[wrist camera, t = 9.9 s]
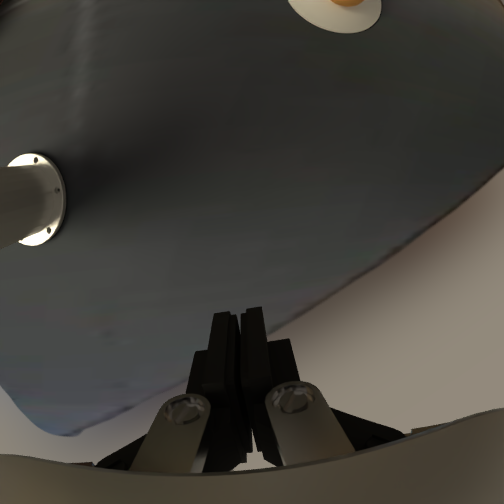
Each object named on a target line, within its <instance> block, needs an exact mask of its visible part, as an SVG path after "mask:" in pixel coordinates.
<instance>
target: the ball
mask: <svg viewBox="0 0 504 504" xmlns="http://www.w3.org/2000/svg"><path fill="white" fill-rule="evenodd" d="M331 1H332V2H334V3H335V4H338V5H341V6H345V7H351V6H356V5H358V4H360V3H362V2H363V1H364V0H331Z"/></svg>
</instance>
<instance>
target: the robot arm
mask: <svg viewBox="0 0 504 504" xmlns="http://www.w3.org/2000/svg"><path fill="white" fill-rule="evenodd" d="M59 189H60V190H59ZM65 210H66V190H65V184H64V181H63V178H62V175H61V173H60V171H59V169H58V168H57V167H56V165H55V164H54V163H53V162H52V161H51V160H50V159H49V158H47V157H46V156H44V155H42V154H38V153H27V154H23V155H20V156H18V157H17V158H15V159H14V160H13V161H12V162H11V163H10V164H9V165H8V166H7V167H0V249H2V248H4V247H7V246H9V245H11V244H13V243H16V242H20V243H22V244H25V245H29V246H35V245H40V244H42V243H44V242H46V241H48V240H50V239H51V238H52V237H53V236H54V235H55V234H56V233H57V231H58V230H59V228H60V226H61V224H62V222H63V219H64V215H65ZM252 431H253V435H254V439H255V443H256V447H257V451H258V452H259V451H260V452H261V451H262V453H263V457H264V460H266V461H268V462H270V463H272V464H273V465H275V466H277V467H271V468H263V469H253V470H243V471H234V470H233V468H234V467H236V466H237V465H238V464H240V463H246V462H247V453H252V452H253V446H252ZM0 504H504V408H499V409H492V410H489V411H485V412H480V413H476V414H473V415H470V416H467V417H463V418H461V419H457V420H454V421H452V422H448V423H443V424H438V425H433V426H428V427H421V428H416V429H411V433H408V434H403V433H402V432H400V431H398V430H396V429H394V428H391V427H387V426H384V425H381V424H377V423H374V422H371V421H368V420H365V419H362V418H359V417H356V416H353V415H350V414H347V413H344V412H341V411H339V410H336V409H333V408H330V407H329V405H328V404H327V402H326V400H325V399H324V397H323V395H322V394H321V392H320V390H319V389H318V388H317V387H316V386H314V385H312V384H311V383H308V382H303V381H300V378H299V374H298V370H297V366H296V362H295V358H294V354H293V351H292V346H291V343H290V339H282V340H276V341H270V342H267V337H266V330H265V324H264V318H263V312H262V306H261V307H255V308H248V309H246V313H242V314H241V335H240V330H239V325H238V320H237V315H236V314H235V315H231V314H230V311H228V312H220V313H214V316H213V321H212V327H211V333H210V338H209V344H208V350H202V351H196V352H195V354H194V358H193V363H192V367H191V372H190V376H189V381H188V385H187V390H186V394H182V395H179V396H175V397H173V398H171V399H169V400H168V401H167V402H165V403H164V404H163V405H162V407H161V408H160V410H159V412H158V413H157V415H156V417H155V420H154V421H153V423H152V425H151V427H150V429H149V431H148V433H147V434H145V435H144V436H142V437H141V438H139V439H137V440H135V441H134V442H132V443H130V444H128V445H127V446H125V447H123V448H121V449H120V450H118V451H116V452H114V453H112V454H111V455H109V456H107V457H105V458H104V459H102V460H101V461H99V462H98V463H97V465H94V464H93V462H85V463H63V462H57V461H51V460H45V459H40V458H35V457H30V456H21V455H13V454H0Z"/></svg>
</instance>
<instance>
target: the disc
mask: <svg viewBox="0 0 504 504" xmlns="http://www.w3.org/2000/svg"><path fill="white" fill-rule="evenodd" d="M288 1H289V3H290V5H291V6H292V8H293V9H294V10H295V11H296V12H297V13H298V14H299V15H300V16H301V17H302V18H304V19H305V20H307V21H308V22H310V23H311V24H313V25H315V26H317V27H319V28H322V29H325V30H328V31H331V32H337V33H357V32H361V31H364V30H366V29H368V28H369V27H371V26H372V25H373V24H374V23H375V22H376V21H377V20H378V18H379V16H380V13H381V0H364V1H363V2H362V3H360V4H358V5H356V6H351V7H345V6H341V5H338V4H335V3H334V2H332V1H331V0H288Z"/></svg>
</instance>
